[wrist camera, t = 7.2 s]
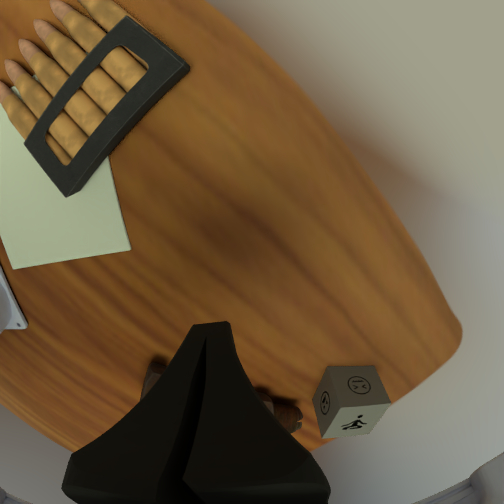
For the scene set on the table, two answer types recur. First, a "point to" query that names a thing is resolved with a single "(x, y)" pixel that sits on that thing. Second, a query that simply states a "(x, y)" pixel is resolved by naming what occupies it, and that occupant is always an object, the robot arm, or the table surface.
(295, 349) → the table surface
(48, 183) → the mat
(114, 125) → the ammunition clip
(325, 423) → the dice cube
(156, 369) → the bolt
